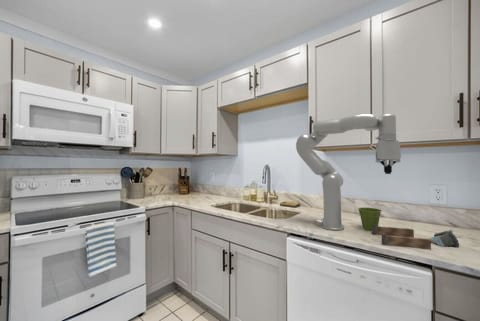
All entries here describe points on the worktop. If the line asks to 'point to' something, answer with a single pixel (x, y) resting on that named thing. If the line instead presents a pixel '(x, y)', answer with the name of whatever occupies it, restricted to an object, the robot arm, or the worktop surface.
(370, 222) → the plant pot
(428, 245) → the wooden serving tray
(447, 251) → the worktop surface
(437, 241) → the grey irregular lump
